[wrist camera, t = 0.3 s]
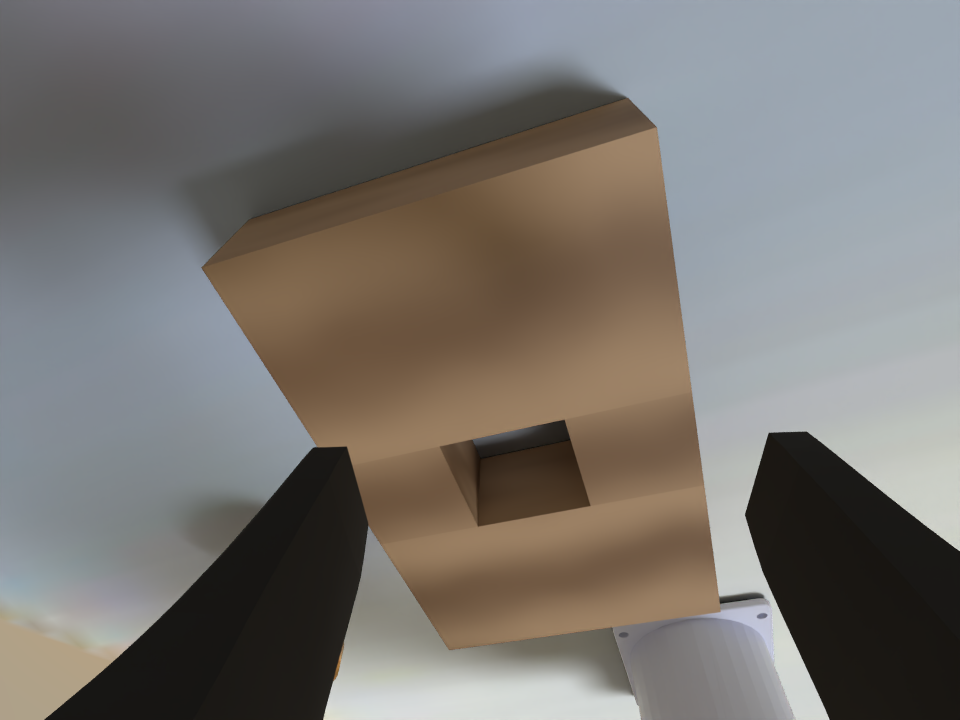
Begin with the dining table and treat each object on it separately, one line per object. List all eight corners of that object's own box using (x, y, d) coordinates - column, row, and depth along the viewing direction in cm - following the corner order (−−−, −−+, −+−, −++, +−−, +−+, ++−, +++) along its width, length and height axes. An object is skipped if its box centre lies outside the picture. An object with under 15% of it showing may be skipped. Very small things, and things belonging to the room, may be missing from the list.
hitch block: (696, 541, 26) (720, 612, 23) (454, 581, 29) (449, 650, 26) (627, 97, 16) (656, 127, 13) (249, 219, 18) (201, 267, 15)
